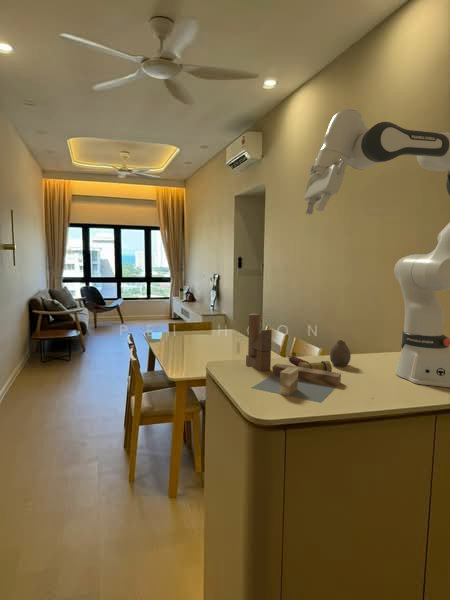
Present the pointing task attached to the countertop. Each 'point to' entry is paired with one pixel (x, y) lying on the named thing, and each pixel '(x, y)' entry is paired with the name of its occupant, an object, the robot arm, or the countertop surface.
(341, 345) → the vase
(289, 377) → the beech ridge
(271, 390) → the slate mat
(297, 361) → the gavel
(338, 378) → the walnut bar
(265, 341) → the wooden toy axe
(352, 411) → the countertop surface
